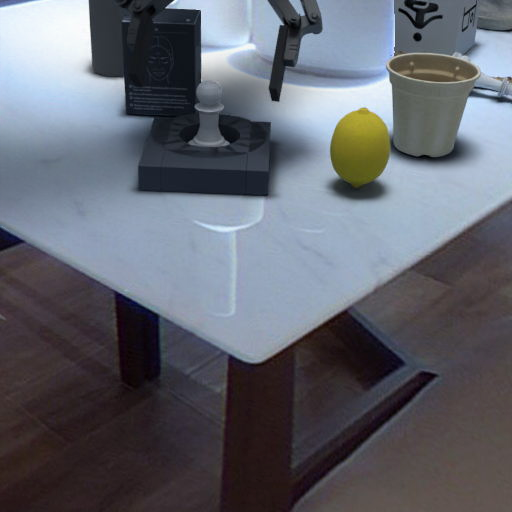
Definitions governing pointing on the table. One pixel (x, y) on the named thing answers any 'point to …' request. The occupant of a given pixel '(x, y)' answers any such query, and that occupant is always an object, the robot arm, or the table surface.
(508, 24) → the sneaker
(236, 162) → the dark grey holder base
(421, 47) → the icon cube
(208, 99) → the chess piece
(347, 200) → the table surface
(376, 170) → the lemon
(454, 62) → the flower pot
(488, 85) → the chess piece
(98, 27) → the bottle
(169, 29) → the box
